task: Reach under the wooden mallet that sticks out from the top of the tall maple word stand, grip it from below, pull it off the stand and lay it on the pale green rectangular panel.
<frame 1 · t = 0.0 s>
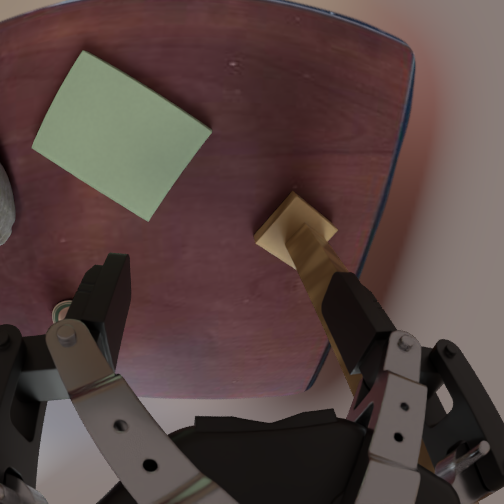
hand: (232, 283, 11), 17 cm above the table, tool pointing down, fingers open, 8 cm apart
pale green rectangular panel: (115, 133, 23), on the table
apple: (81, 321, 33), on the table
word stand: (294, 229, 30), on the table
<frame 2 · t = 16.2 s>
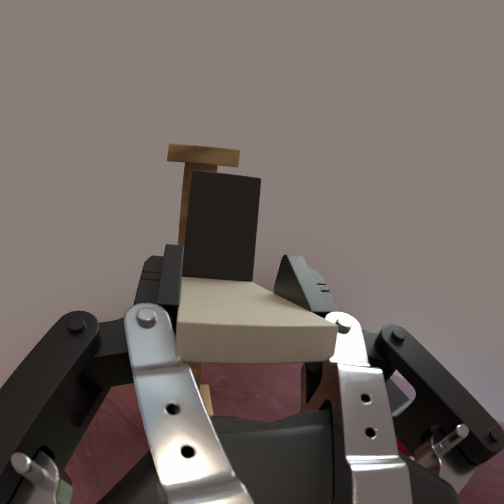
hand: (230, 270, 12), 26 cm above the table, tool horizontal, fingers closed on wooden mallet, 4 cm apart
word stand: (187, 406, 35), on the table
wooden mallet: (224, 310, 13), point 24 cm above the table, tilted 17°, touching gripper
when the fingers open (7 cm above the table, at t = 21.6 s): wooden mallet drops 3 cm, resting on pale green rectangular panel.
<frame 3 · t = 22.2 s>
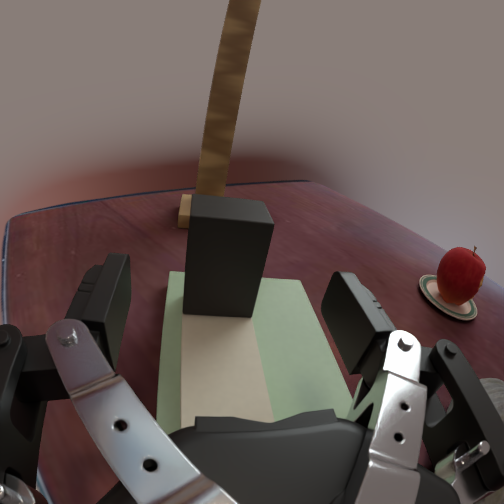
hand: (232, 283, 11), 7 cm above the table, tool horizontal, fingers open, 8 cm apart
pale green rectangular panel: (247, 359, 17), on the table
seashell: (466, 469, 10), on the table
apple: (446, 301, 27), on the table
word stand: (206, 218, 33), on the table
wooden mallet: (220, 377, 14), point 1 cm above the table, touching pale green rectangular panel
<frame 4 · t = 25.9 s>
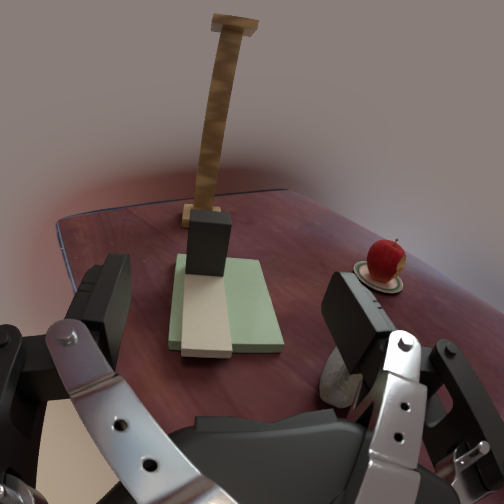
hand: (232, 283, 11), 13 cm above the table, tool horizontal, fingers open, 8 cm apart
pale green rectangular panel: (220, 301, 31), on the table
seashell: (361, 381, 24), on the table
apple: (376, 280, 41), on the table
word stand: (201, 221, 47), on the table
wooden mallet: (203, 305, 28), point 1 cm above the table, touching pale green rectangular panel
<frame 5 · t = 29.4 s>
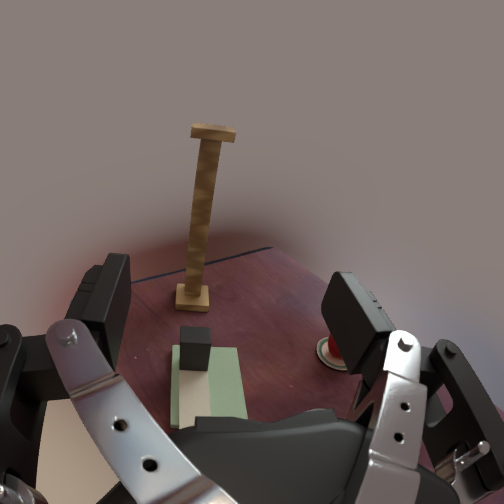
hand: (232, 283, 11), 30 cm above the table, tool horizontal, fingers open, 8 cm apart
pale green rectangular panel: (206, 387, 39), on the table
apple: (336, 355, 49), on the table
word stand: (191, 300, 55), on the table
wooden mallet: (193, 395, 36), point 1 cm above the table, touching pale green rectangular panel
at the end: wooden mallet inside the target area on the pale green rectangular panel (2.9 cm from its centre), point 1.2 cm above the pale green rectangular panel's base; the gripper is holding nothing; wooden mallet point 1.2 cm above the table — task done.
